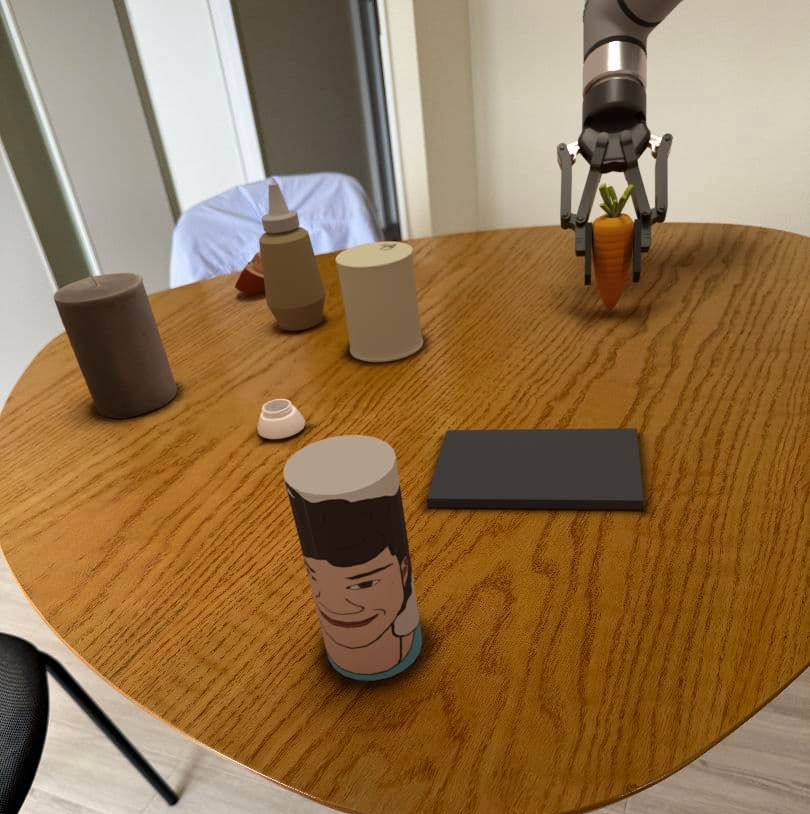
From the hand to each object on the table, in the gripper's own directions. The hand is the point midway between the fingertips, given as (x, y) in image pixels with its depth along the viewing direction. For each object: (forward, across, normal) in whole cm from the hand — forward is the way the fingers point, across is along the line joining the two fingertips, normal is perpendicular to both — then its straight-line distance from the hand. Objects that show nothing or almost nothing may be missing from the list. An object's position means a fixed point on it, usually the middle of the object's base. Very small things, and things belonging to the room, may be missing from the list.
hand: (612, 278), depth 92 cm
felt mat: (+28, +7, +19) cm, 34 cm away
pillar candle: (+16, +55, +8) cm, 58 cm away
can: (+7, +27, -1) cm, 28 cm away
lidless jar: (+22, +34, +14) cm, 43 cm away
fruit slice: (-9, +52, -17) cm, 56 cm away
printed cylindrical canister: (+44, +17, +35) cm, 59 cm away
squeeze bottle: (+1, +41, -8) cm, 42 cm away
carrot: (+1, 0, -6) cm, 7 cm away
